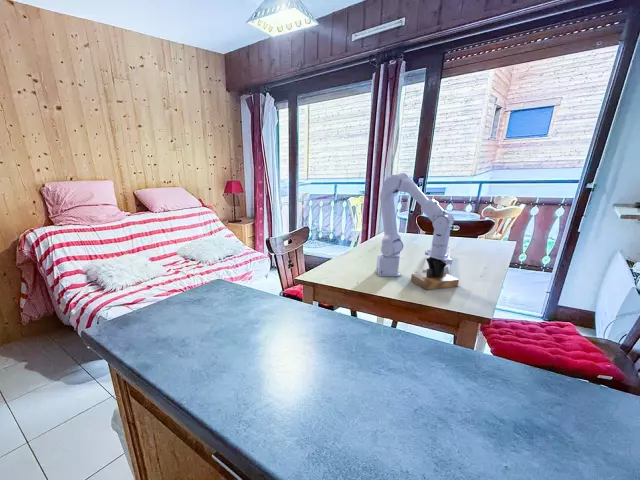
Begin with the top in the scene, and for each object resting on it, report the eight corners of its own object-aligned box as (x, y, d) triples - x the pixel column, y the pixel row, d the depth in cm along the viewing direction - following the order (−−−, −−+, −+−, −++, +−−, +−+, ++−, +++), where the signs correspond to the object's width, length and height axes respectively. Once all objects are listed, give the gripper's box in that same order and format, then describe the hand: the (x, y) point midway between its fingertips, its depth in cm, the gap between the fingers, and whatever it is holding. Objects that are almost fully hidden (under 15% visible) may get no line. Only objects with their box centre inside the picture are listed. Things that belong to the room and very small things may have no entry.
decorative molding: (424, 280, 148) (449, 277, 143) (422, 270, 147) (448, 266, 142) (429, 258, 175) (450, 255, 170) (427, 250, 174) (449, 246, 169)
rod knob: (428, 278, 136) (429, 269, 134) (426, 276, 137) (427, 268, 136) (443, 276, 137) (444, 267, 135) (440, 275, 138) (442, 266, 137)
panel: (425, 289, 132) (427, 282, 131) (410, 280, 143) (411, 273, 141) (457, 286, 134) (459, 279, 133) (440, 277, 144) (441, 270, 143)
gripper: (461, 247, 125) (455, 280, 130) (437, 239, 139) (432, 269, 144) (444, 249, 125) (439, 282, 130) (422, 240, 138) (417, 270, 143)
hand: (434, 275), depth 137 cm, fingers closed
